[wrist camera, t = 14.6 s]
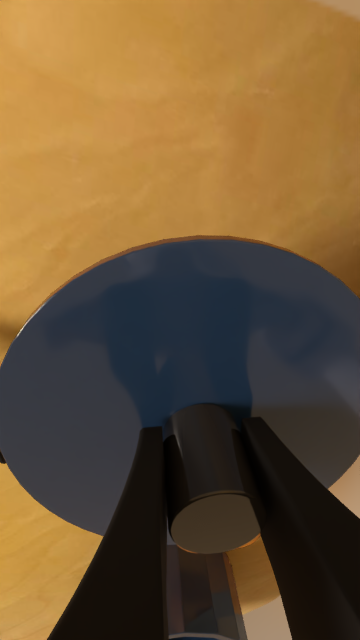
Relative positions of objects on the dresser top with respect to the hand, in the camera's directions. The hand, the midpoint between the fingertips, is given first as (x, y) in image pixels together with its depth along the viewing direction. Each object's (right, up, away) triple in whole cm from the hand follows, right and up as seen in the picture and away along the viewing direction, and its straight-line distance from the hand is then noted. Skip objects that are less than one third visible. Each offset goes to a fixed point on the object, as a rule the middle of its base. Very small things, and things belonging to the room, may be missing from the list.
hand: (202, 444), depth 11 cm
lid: (0, 0, +1) cm, 1 cm away
